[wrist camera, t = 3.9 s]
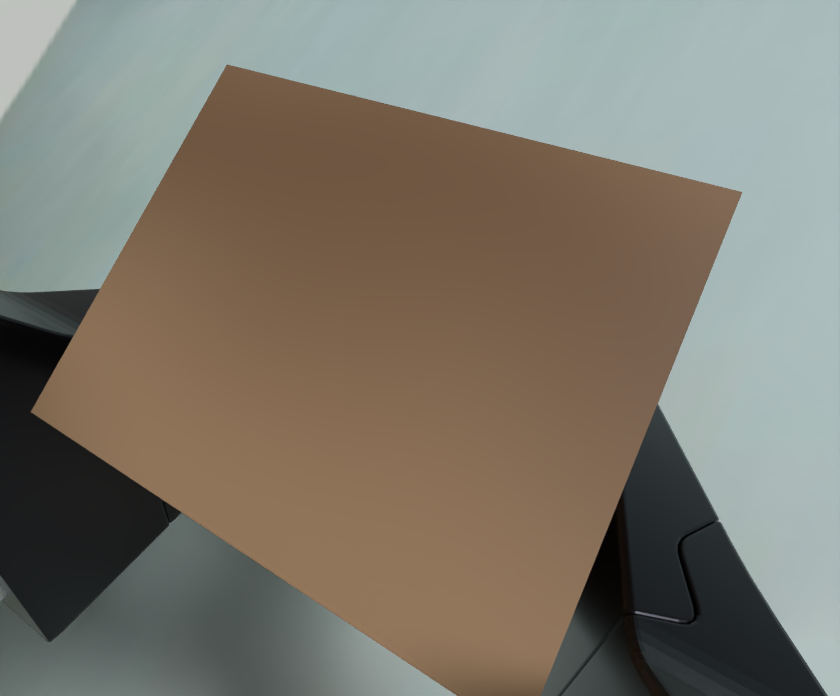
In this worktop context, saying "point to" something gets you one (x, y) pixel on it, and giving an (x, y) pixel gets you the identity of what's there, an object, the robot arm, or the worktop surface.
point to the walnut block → (394, 361)
